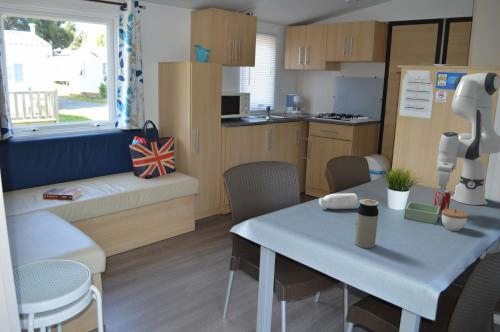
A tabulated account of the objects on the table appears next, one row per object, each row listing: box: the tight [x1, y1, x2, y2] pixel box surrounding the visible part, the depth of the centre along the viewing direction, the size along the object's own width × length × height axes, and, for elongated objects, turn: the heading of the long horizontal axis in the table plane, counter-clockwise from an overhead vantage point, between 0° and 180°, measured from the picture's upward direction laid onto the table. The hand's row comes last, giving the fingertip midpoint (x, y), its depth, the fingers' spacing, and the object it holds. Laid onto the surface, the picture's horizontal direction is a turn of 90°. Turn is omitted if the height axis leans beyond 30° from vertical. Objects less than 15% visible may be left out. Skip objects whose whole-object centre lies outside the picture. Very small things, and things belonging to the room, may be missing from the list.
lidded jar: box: [441, 208, 469, 232], centre depth 190 cm, size 11×11×9 cm
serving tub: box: [403, 201, 440, 225], centre depth 205 cm, size 14×14×5 cm
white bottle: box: [318, 192, 358, 210], centre depth 213 cm, size 8×19×8 cm, turn 102°
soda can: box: [433, 188, 452, 216], centre depth 212 cm, size 7×7×12 cm
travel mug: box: [353, 198, 380, 249], centre depth 166 cm, size 8×8×18 cm
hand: (442, 191), depth 211 cm, fingers open, 8 cm apart
